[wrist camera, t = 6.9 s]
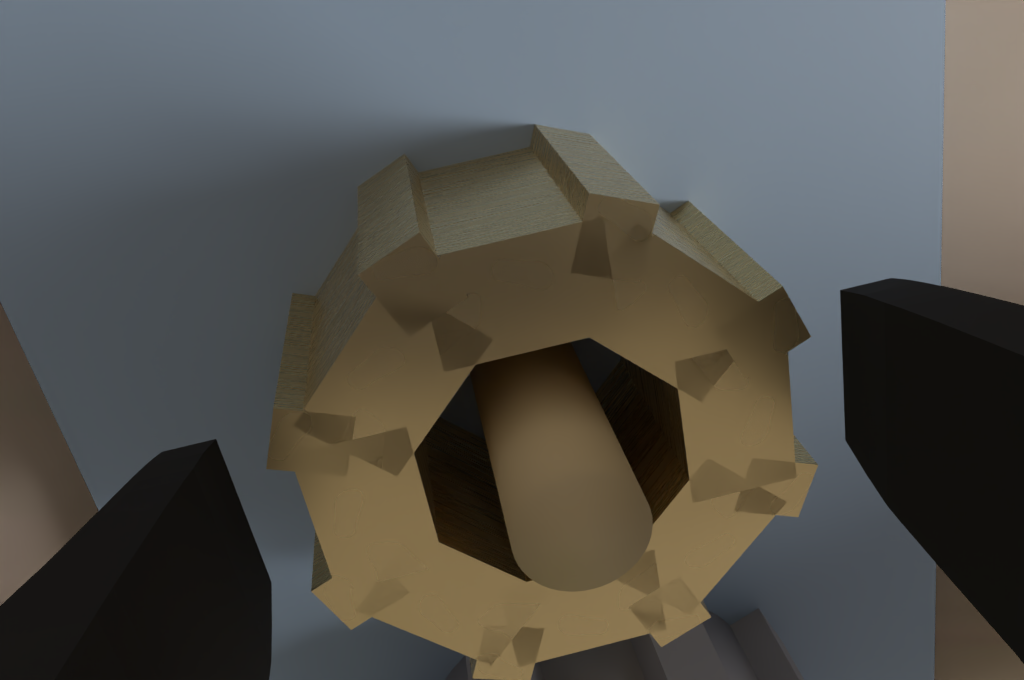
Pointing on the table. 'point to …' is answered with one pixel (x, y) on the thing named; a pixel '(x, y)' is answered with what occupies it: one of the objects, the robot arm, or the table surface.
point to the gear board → (499, 383)
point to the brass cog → (515, 330)
